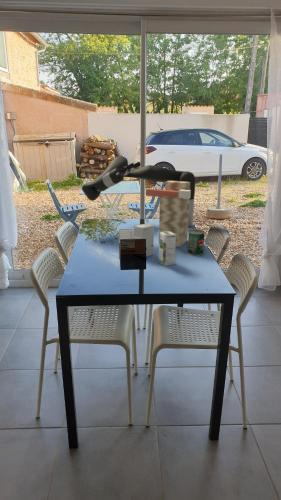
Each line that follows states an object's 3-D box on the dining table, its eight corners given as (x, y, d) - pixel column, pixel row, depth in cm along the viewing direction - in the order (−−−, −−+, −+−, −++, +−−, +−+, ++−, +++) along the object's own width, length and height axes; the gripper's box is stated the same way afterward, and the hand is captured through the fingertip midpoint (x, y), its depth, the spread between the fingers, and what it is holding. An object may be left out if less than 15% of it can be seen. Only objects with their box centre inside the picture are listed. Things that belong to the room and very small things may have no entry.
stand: (158, 244, 199) (160, 183, 189) (166, 237, 210) (168, 180, 200) (180, 247, 195) (183, 185, 184) (187, 240, 206) (190, 182, 196)
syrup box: (158, 262, 173) (158, 231, 169) (169, 260, 175) (170, 230, 171) (163, 266, 168) (164, 235, 164) (175, 264, 170) (176, 234, 166)
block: (145, 195, 196) (145, 188, 194) (148, 194, 199) (148, 187, 198) (188, 199, 187) (188, 191, 186) (190, 197, 191) (190, 190, 190)
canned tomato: (204, 255, 182) (205, 234, 179) (187, 255, 183) (189, 233, 179) (202, 250, 190) (204, 229, 186) (187, 250, 190) (188, 229, 187)
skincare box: (142, 258, 178) (142, 228, 173) (133, 255, 182) (133, 225, 177) (153, 254, 184) (154, 224, 179) (144, 251, 188) (145, 222, 183)
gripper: (121, 182, 209) (145, 168, 201) (110, 186, 196) (134, 171, 188) (115, 170, 208) (139, 156, 200) (103, 173, 195) (128, 158, 188)
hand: (137, 163), depth 194 cm, fingers open, 8 cm apart
